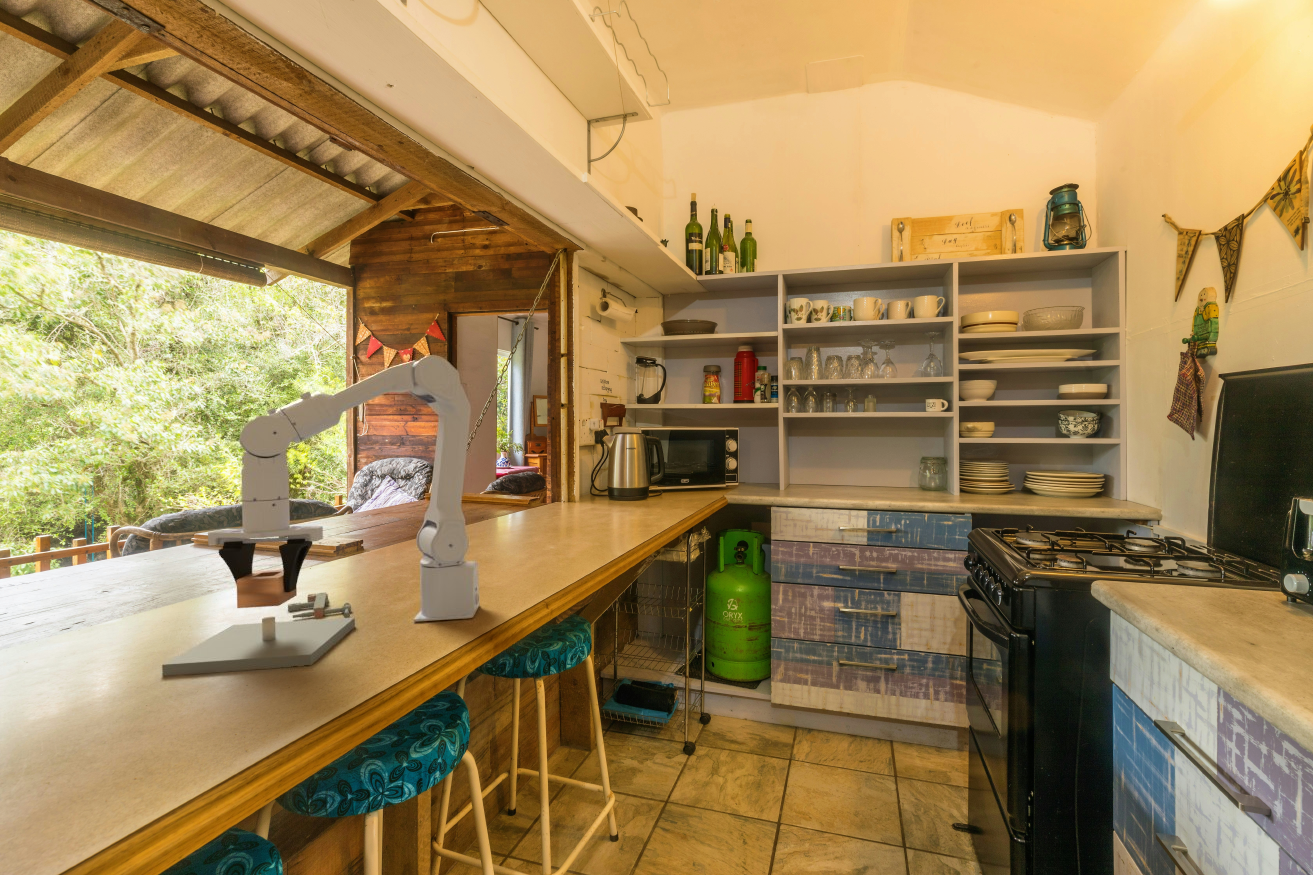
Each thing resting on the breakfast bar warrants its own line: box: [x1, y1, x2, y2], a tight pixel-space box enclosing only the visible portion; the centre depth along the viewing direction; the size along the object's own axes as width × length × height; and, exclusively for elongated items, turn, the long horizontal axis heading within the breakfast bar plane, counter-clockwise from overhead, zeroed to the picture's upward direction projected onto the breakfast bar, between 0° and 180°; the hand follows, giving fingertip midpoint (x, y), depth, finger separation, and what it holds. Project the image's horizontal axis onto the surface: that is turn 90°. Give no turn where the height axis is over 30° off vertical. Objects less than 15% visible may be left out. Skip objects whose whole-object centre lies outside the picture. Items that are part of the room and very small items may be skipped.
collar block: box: [236, 569, 298, 609], centre depth 84 cm, size 5×5×4 cm
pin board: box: [161, 615, 356, 677], centre depth 84 cm, size 18×16×4 cm
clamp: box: [287, 592, 352, 619], centre depth 102 cm, size 15×2×10 cm
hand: (268, 591), depth 84 cm, fingers closed on collar block, 5 cm apart
